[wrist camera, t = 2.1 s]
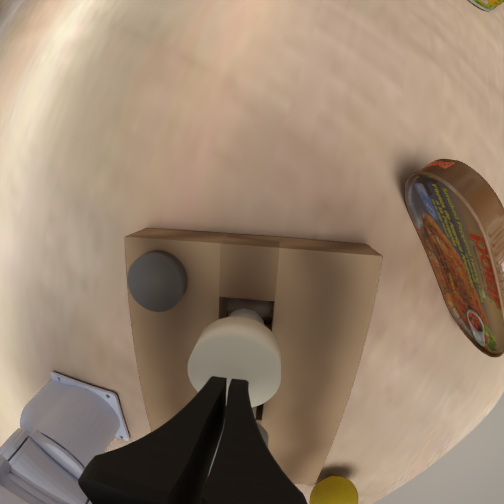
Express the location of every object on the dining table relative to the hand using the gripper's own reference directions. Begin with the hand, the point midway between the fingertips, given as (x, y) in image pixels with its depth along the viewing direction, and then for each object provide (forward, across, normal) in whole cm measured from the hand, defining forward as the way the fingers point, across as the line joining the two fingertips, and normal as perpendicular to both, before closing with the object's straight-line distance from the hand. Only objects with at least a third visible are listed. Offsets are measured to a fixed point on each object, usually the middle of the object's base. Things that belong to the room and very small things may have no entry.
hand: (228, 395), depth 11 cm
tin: (+11, -15, -5) cm, 19 cm away
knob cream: (+7, 0, 0) cm, 7 cm away
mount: (+10, 0, +7) cm, 13 cm away
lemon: (+11, -11, +23) cm, 28 cm away
